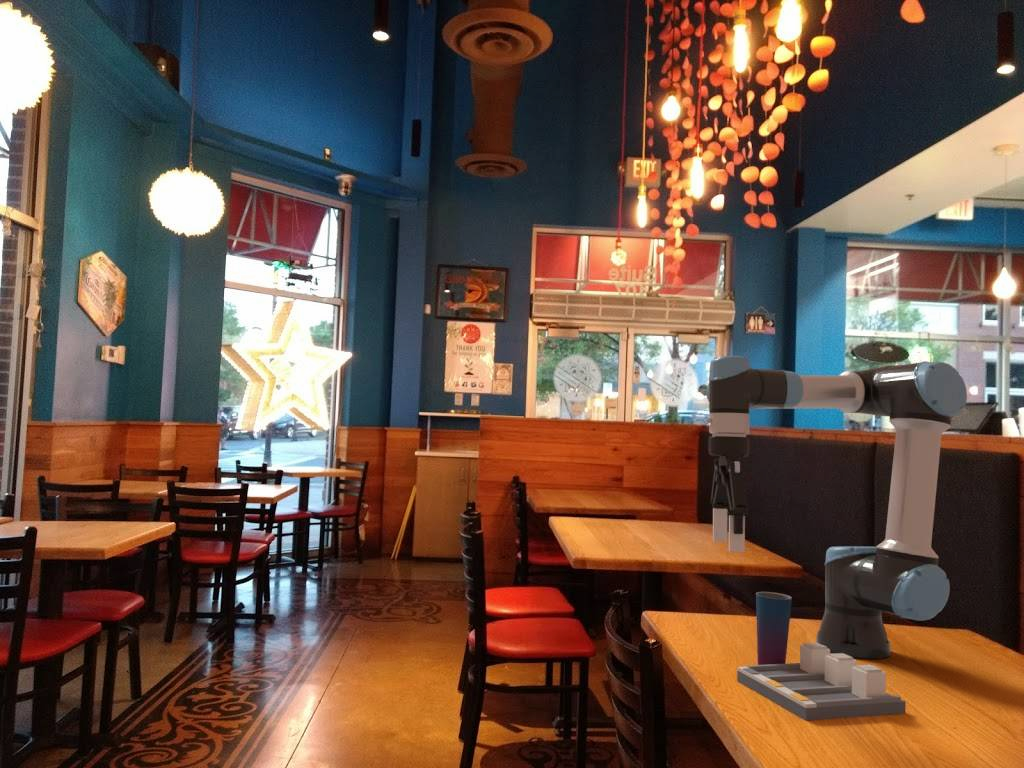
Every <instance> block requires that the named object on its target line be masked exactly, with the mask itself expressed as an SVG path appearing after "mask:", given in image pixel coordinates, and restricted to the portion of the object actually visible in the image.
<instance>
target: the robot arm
mask: <svg viewBox="0 0 1024 768" xmlns="http://www.w3.org/2000/svg"><path fill="white" fill-rule="evenodd" d="M750 364H751V363H750V359H749V358H748V357H746V356H744V355H743V356H742V355H720V356H715V357H714V358H712V359H711V360H710V364H709V375H708V384H707V385H706V391H705V392H706V393H705V394H706V398H707V401H708V402H709V403H708V406H709V407H708V408H709V409H708V410H709V411H708V412H709V415H708V416H709V417H706V419H705V420H706V423H708V425H709V426H708V428H709V429H708V432H709V434H711V435H712V436H709V437H708V454H709V455H710V456H714V457H715V456H716V457H717V456H718V457H719V458H718V459H717V458H716V459H714V461H713V462H714V464H713V465H714V469H713V478H712V486H711V496H710V504H711V506H712V542H721V543H723V542H724V543H727V542H728V552H729V553H732V552H733V553H745V551H746V549H745V548H746V547H745V546H746V539H745V538H746V534H745V533H746V531H745V530H746V514H747V515H748V514H749V512H750V510H749V504H748V503H749V501H748V493H747V486H746V476H745V462H744V461H740V460H739V457H749V454H750V439H749V437H747V435H749V434H750V410H754V409H758V410H759V409H760V410H761V409H763V410H766V409H772V410H774V409H776V410H777V409H781V410H782V409H784V410H785V409H786V410H788V409H789V410H791V409H793V410H794V409H795V410H796V409H798V410H799V409H800V410H801V409H802V410H803V409H815V410H817V409H822V410H823V409H838V410H840V411H841V412H843V413H847V414H865V415H872V416H873V415H874V416H879V417H889V423H890V424H891V425H892V426H893V427H894V429H895V437H894V438H895V439H894V449H893V458H892V459H893V460H892V466H891V467H892V469H891V478H890V488H889V498H888V499H889V500H888V509H887V518H886V529H885V539H884V540H883V541H882V542H881V543H879V544H878V545H876V546H850V545H849V546H844V545H843V546H831V547H829V548H828V549H827V550H826V553H825V562H824V598H825V600H824V601H825V602H824V603H825V605H824V606H825V607H824V613H823V616H822V620H821V622H820V626H819V630H818V631H817V632H816V643H819V644H821V645H824V646H826V647H827V648H828V649H830V653H831V654H837V653H843V654H846V655H848V656H851V657H853V658H858V659H871V660H872V659H885V658H888V657H890V656H891V643H890V641H889V638H888V634H887V630H886V628H885V624H884V621H883V619H882V617H883V616H882V612H884V613H888V614H892V615H896V616H898V617H899V618H902V619H908V620H914V621H927V620H928V621H929V620H931V619H933V618H934V617H936V616H937V615H938V614H939V613H941V612H942V610H943V609H944V607H945V606H946V605H947V602H948V600H949V595H950V590H951V589H950V580H949V579H948V578H947V574H946V571H944V570H943V569H942V568H941V567H939V555H938V554H936V551H934V549H933V548H932V539H933V530H934V529H933V528H934V520H935V519H934V517H935V508H936V507H935V506H936V495H937V487H938V477H939V475H938V474H939V464H940V455H941V443H942V442H941V441H942V435H943V433H945V432H946V431H948V430H949V429H950V428H951V425H952V417H955V416H957V415H959V414H960V413H961V412H963V411H962V410H964V408H965V407H966V403H967V400H968V393H967V392H968V390H967V387H966V384H965V380H964V379H963V377H962V376H961V374H960V373H959V371H958V370H957V369H956V368H955V367H953V365H951V364H949V363H946V362H945V361H944V362H943V361H921V362H915V363H904V364H897V365H896V364H895V365H885V366H880V367H875V368H874V367H873V368H868V369H863V370H856V371H855V370H854V371H849V370H847V371H843V372H841V373H840V374H839V375H823V374H821V375H817V374H815V375H812V374H810V375H809V374H807V375H805V374H798V373H796V372H794V371H790V370H785V369H779V370H778V369H766V368H765V369H762V368H761V369H759V368H752V367H751V365H750ZM728 509H729V510H728Z"/></svg>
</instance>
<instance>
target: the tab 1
mask: <svg viewBox="0 0 1024 768" xmlns="http://www.w3.org/2000/svg"><path fill="white" fill-rule="evenodd" d="M828 654H831V652H830V649H828V648H827V647H826V646H824V645H821V644H819V643H817V642H807V643H806V642H803V644H800V645H799V663H800V669H801V670H804V671H806V672H808V673H825V656H826V655H828Z"/></svg>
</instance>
